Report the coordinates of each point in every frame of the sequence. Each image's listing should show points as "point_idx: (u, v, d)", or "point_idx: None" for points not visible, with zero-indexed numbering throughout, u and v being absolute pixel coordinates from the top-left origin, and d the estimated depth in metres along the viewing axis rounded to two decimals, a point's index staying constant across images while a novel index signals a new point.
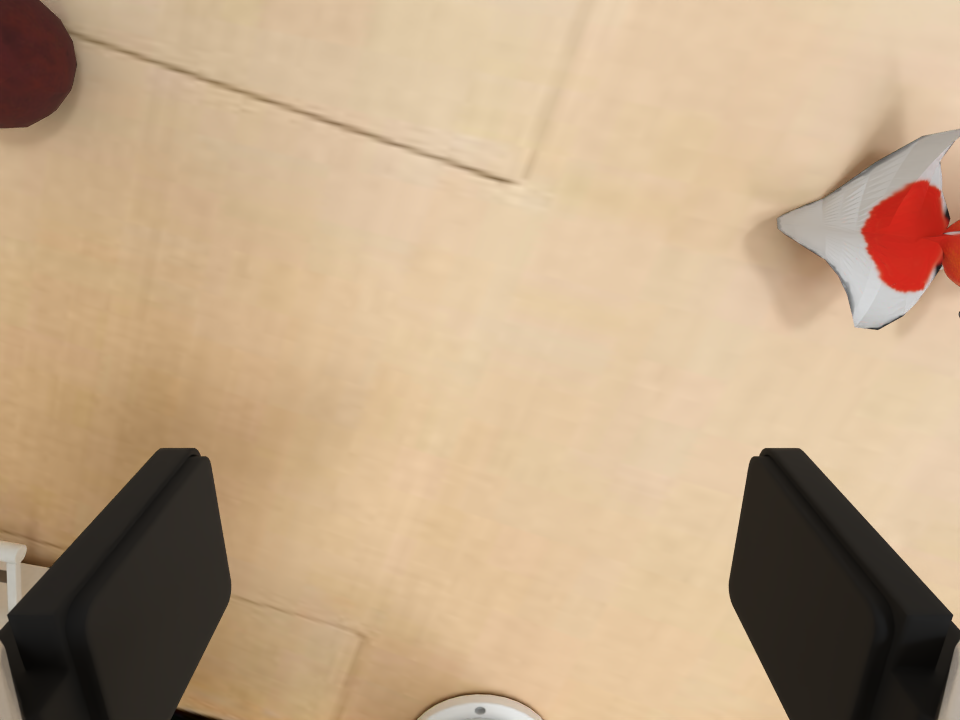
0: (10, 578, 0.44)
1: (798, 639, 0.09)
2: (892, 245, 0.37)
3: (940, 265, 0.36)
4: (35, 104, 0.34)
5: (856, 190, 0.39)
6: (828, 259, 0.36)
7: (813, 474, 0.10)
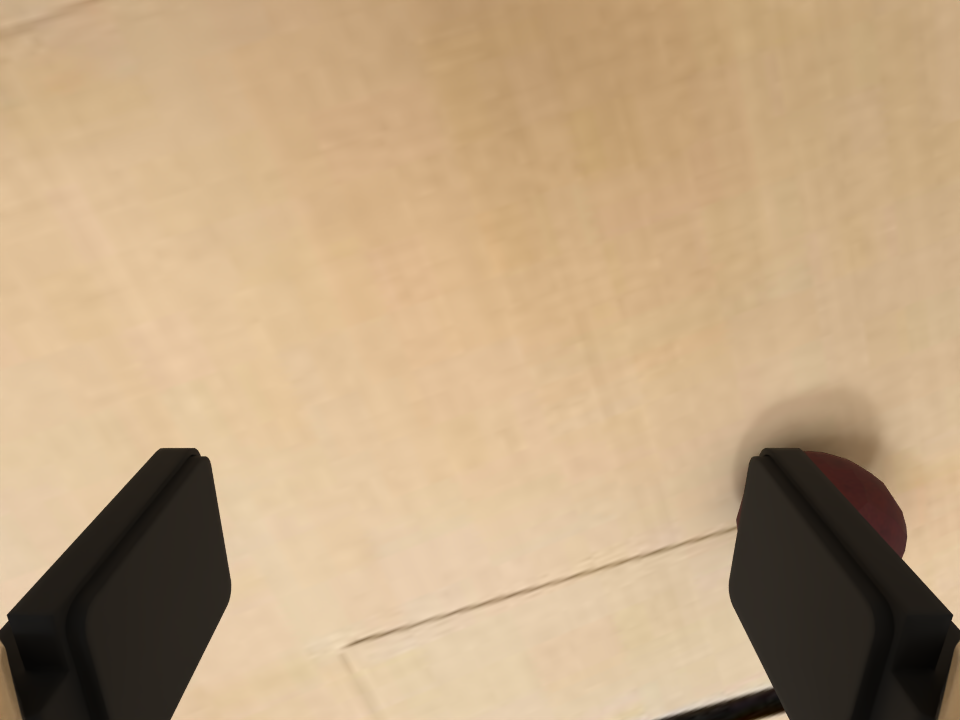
0: None
1: (798, 639, 0.09)
2: None
3: None
4: None
5: None
6: None
7: (813, 474, 0.10)
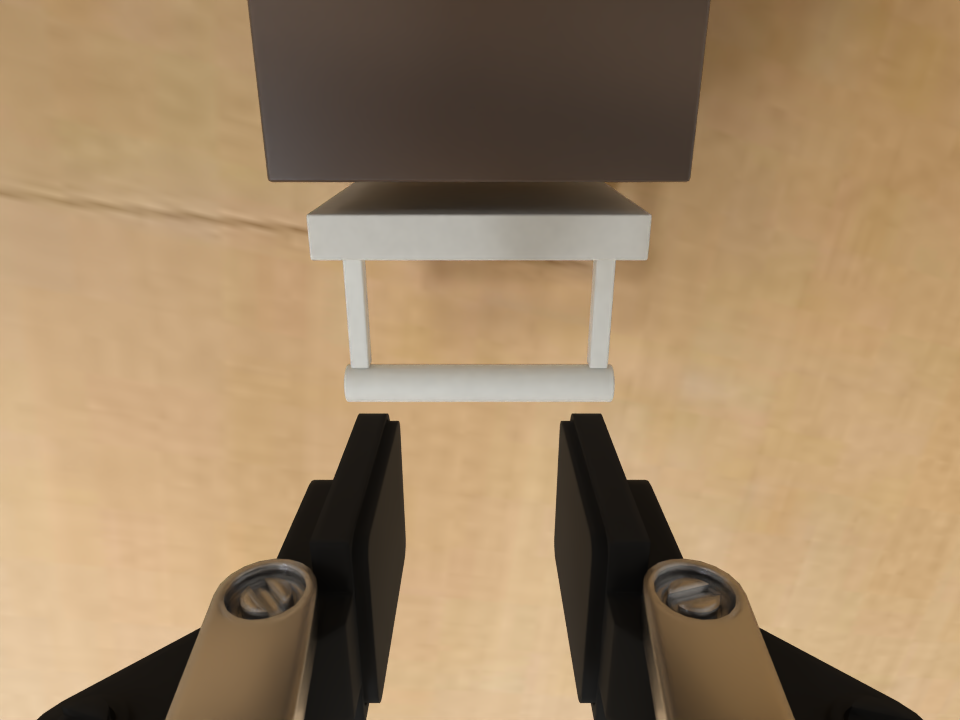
0: (357, 333, 0.21)
1: (572, 578, 0.10)
2: None
3: None
4: None
5: None
6: None
7: (599, 434, 0.11)
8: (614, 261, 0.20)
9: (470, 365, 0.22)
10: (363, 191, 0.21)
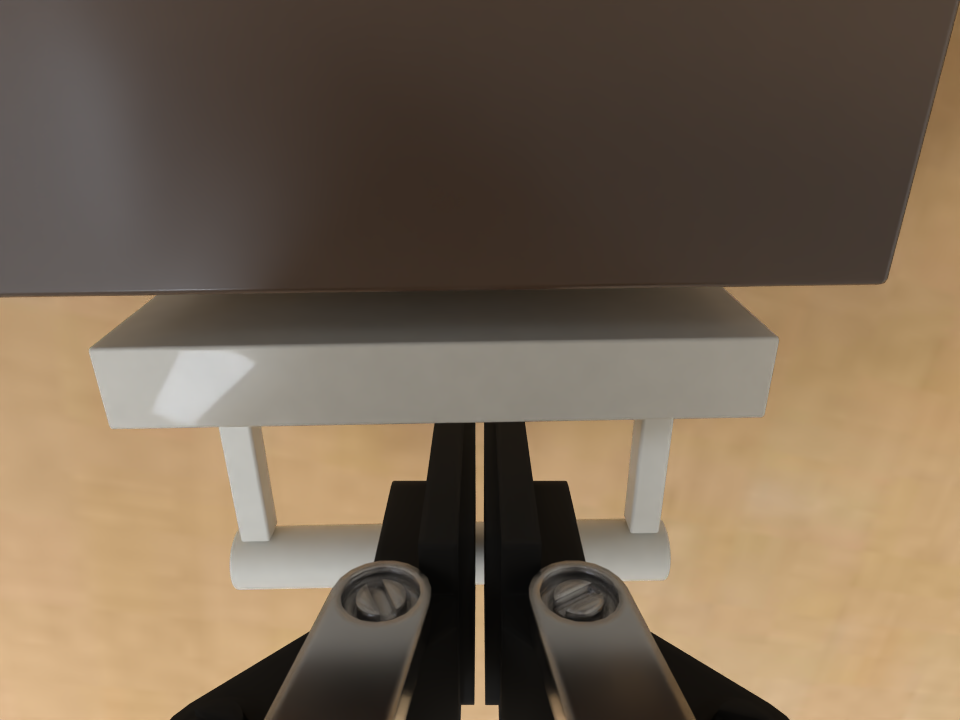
0: (246, 492, 0.13)
1: None
2: None
3: None
4: None
5: None
6: None
7: (516, 435, 0.11)
8: None
9: None
10: None
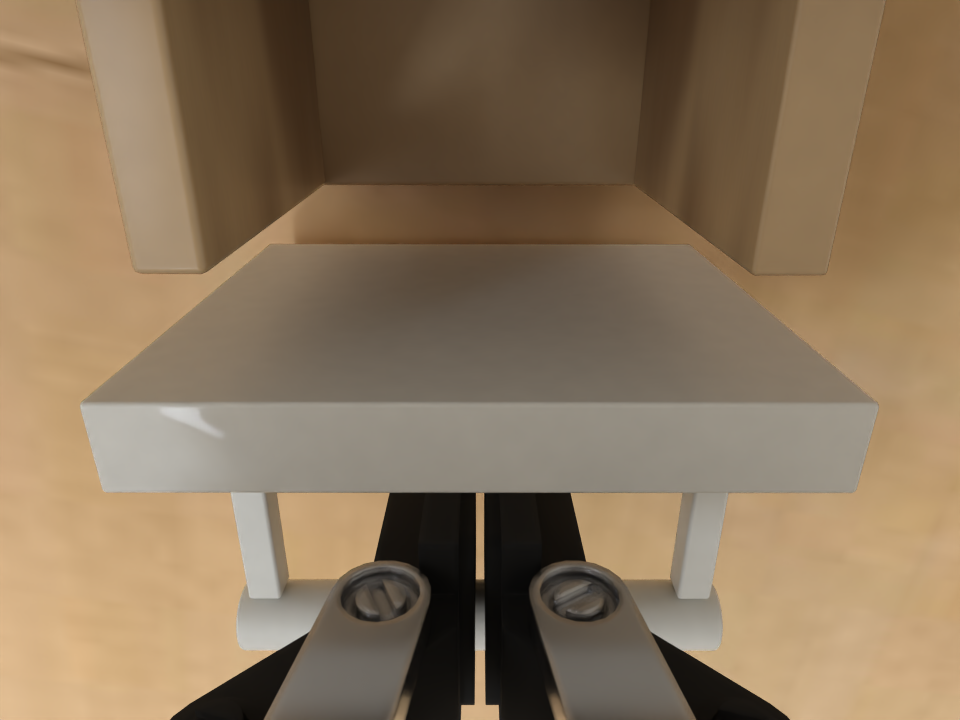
0: (256, 546, 0.11)
1: None
2: None
3: None
4: None
5: None
6: None
7: None
8: None
9: None
10: (264, 283, 0.11)
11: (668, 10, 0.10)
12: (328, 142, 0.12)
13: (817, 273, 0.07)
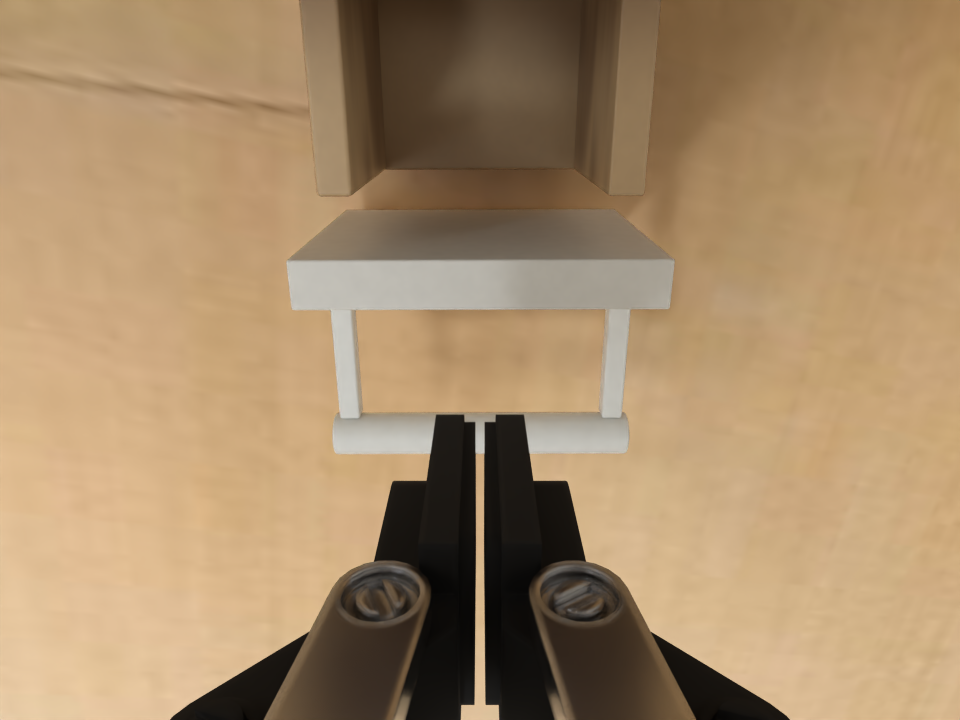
0: (347, 381, 0.19)
1: None
2: None
3: None
4: None
5: None
6: None
7: (516, 435, 0.11)
8: None
9: (470, 414, 0.20)
10: (353, 225, 0.19)
11: (585, 67, 0.18)
12: (388, 143, 0.20)
13: (639, 194, 0.15)
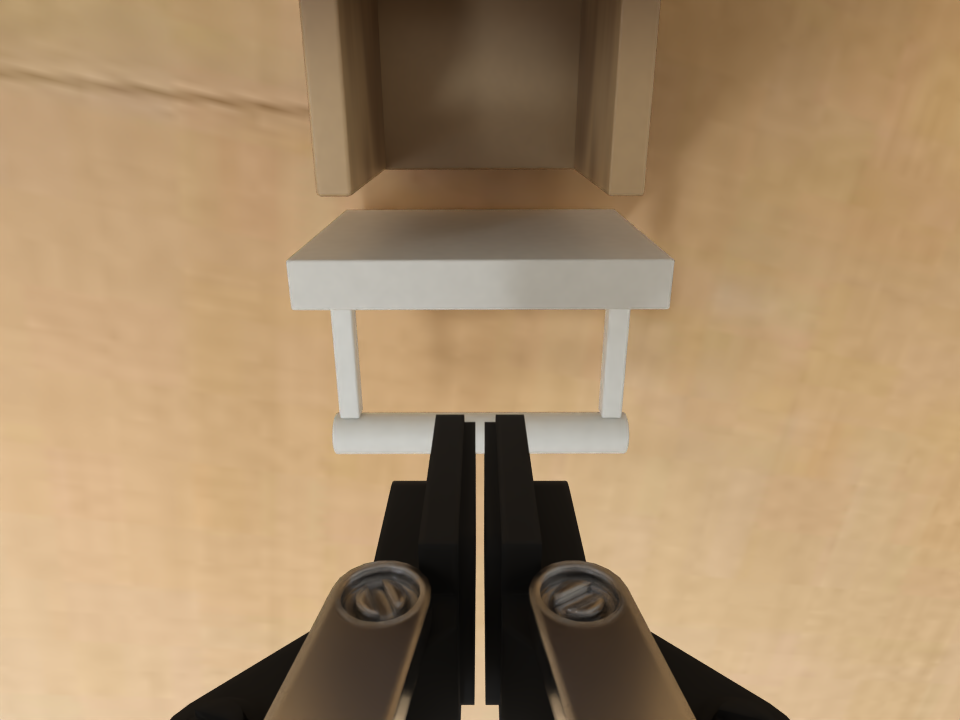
0: (346, 381, 0.19)
1: None
2: None
3: None
4: None
5: None
6: None
7: (516, 435, 0.11)
8: None
9: (470, 414, 0.20)
10: (353, 225, 0.19)
11: (585, 67, 0.18)
12: (388, 143, 0.20)
13: (638, 194, 0.15)
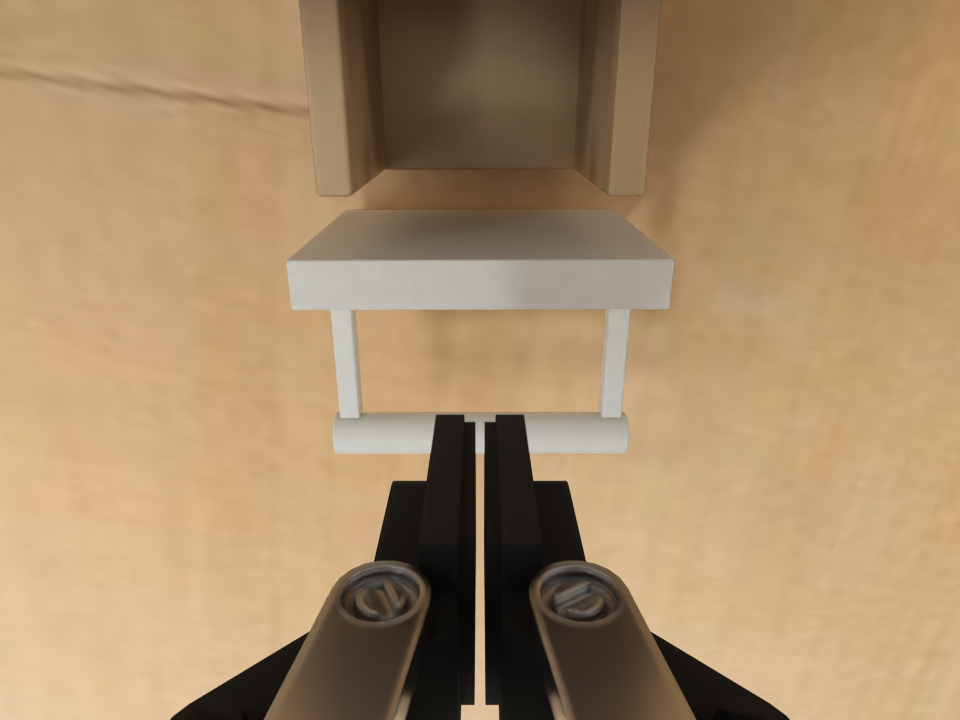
0: (346, 381, 0.19)
1: None
2: None
3: None
4: None
5: None
6: None
7: (516, 435, 0.11)
8: None
9: (470, 414, 0.20)
10: (353, 225, 0.19)
11: (585, 67, 0.18)
12: (388, 143, 0.20)
13: (638, 194, 0.15)
